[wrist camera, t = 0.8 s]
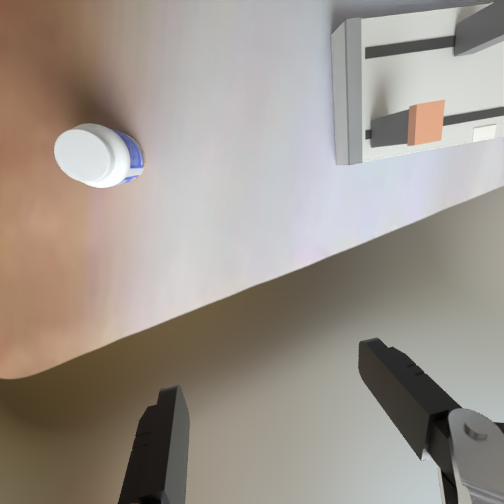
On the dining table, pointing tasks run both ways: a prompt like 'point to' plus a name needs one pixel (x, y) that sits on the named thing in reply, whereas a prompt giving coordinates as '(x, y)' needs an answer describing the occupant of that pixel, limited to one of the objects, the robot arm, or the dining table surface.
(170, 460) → the robot arm
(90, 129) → the pill bottle
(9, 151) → the dining table surface
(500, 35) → the black fader
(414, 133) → the terracotta fader
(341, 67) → the console
